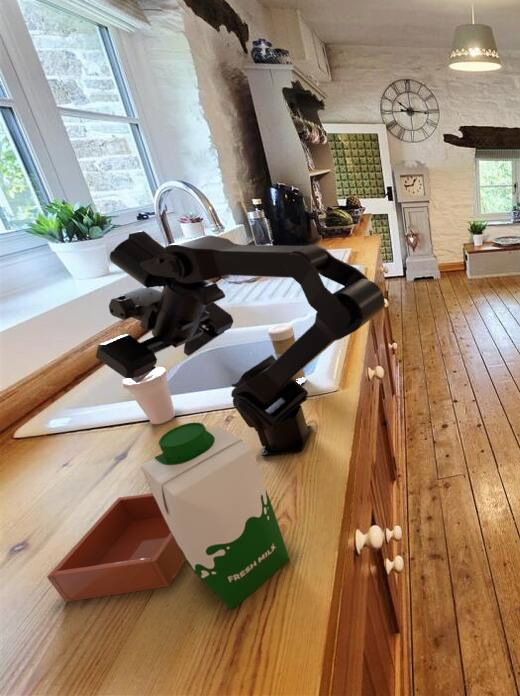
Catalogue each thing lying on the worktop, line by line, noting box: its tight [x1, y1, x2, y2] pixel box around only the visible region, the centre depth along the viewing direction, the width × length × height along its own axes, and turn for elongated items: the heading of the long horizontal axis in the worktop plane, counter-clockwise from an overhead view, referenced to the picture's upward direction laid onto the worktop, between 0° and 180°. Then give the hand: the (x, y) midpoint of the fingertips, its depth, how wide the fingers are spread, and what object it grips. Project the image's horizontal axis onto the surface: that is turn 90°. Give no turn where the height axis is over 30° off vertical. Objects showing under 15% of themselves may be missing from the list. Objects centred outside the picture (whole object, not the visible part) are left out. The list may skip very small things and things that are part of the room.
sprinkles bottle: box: [267, 323, 306, 381], centre depth 87 cm, size 5×5×13 cm
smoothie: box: [121, 366, 176, 425], centre depth 77 cm, size 6×6×14 cm
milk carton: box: [140, 421, 291, 611], centre depth 46 cm, size 9×9×20 cm
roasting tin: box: [46, 492, 187, 603], centre depth 52 cm, size 11×11×4 cm
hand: (162, 366), depth 71 cm, fingers open, 9 cm apart
